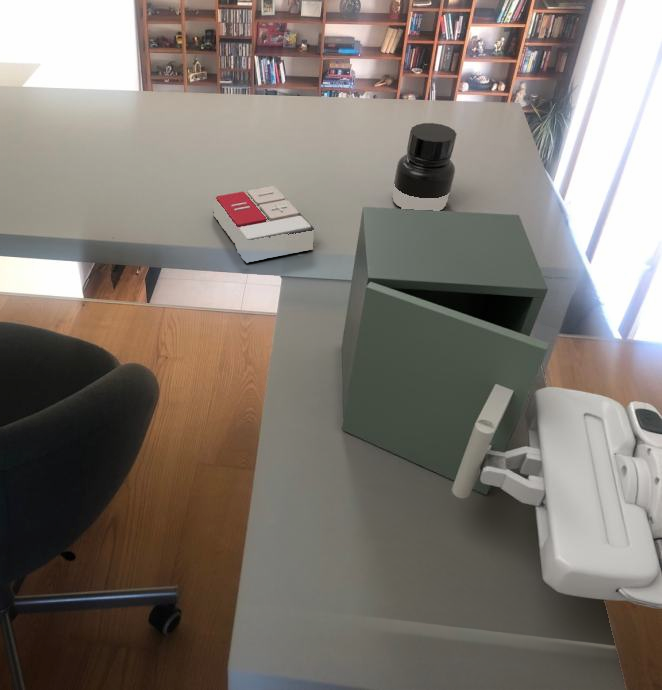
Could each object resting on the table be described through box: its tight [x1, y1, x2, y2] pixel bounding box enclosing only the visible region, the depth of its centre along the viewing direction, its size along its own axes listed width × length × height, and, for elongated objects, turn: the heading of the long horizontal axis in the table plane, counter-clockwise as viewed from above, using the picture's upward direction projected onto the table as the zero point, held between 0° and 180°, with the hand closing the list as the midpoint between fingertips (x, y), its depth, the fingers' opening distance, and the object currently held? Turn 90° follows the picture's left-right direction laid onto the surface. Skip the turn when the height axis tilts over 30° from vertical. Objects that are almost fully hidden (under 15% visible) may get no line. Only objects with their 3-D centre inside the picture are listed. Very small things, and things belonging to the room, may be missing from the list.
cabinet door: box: [341, 282, 551, 499], centre depth 65 cm, size 7×16×20 cm, turn 56°
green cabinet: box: [341, 206, 549, 420], centre depth 75 cm, size 13×16×20 cm
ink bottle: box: [393, 122, 457, 198], centre depth 109 cm, size 10×9×12 cm
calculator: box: [215, 185, 315, 240], centre depth 106 cm, size 11×4×15 cm
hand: (481, 465), depth 60 cm, fingers closed, pressing on cabinet door
